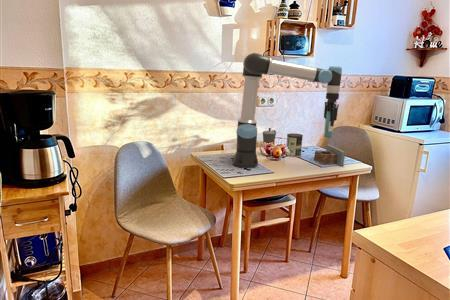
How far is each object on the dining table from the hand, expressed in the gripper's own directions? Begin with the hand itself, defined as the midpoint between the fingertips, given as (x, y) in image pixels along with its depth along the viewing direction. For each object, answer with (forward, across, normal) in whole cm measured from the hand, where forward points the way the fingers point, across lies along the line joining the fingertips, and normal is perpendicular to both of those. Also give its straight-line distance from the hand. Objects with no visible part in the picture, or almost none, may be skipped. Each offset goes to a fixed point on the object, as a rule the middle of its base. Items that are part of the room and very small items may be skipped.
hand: (328, 130), depth 207 cm
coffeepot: (+20, +21, +31) cm, 43 cm away
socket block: (+20, 0, 0) cm, 20 cm away
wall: (+20, 0, -6) cm, 21 cm away
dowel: (+4, 0, 0) cm, 4 cm away
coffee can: (+21, +17, +15) cm, 31 cm away
